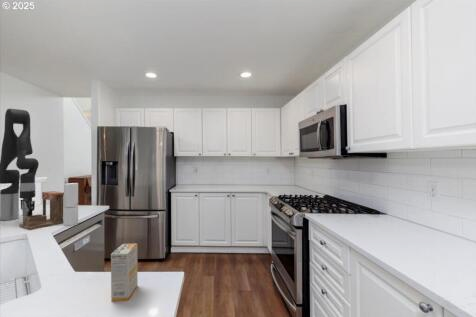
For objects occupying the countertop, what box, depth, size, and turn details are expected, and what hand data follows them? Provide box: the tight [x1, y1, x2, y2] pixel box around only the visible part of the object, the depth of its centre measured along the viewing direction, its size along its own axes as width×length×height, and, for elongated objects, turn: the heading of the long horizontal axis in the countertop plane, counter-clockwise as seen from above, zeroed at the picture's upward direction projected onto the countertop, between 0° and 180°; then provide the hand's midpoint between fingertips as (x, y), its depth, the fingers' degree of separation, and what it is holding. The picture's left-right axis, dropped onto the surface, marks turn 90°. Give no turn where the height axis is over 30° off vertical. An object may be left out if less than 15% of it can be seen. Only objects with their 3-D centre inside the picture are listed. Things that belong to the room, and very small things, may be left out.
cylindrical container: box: [63, 182, 79, 227], centre depth 148 cm, size 7×7×25 cm
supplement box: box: [110, 243, 139, 302], centre depth 70 cm, size 8×5×13 cm, turn 5°
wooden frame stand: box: [18, 190, 64, 231], centre depth 147 cm, size 15×18×19 cm
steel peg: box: [22, 204, 28, 218], centre depth 151 cm, size 4×4×12 cm
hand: (27, 216), depth 151 cm, fingers open, 6 cm apart
